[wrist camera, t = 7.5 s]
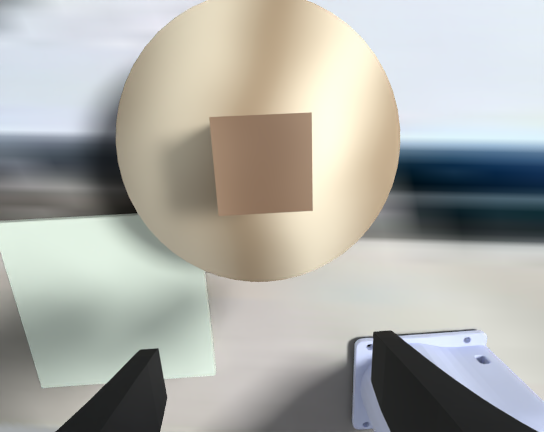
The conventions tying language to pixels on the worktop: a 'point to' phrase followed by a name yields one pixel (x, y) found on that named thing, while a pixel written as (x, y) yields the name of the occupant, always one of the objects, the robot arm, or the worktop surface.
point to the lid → (257, 137)
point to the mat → (105, 298)
